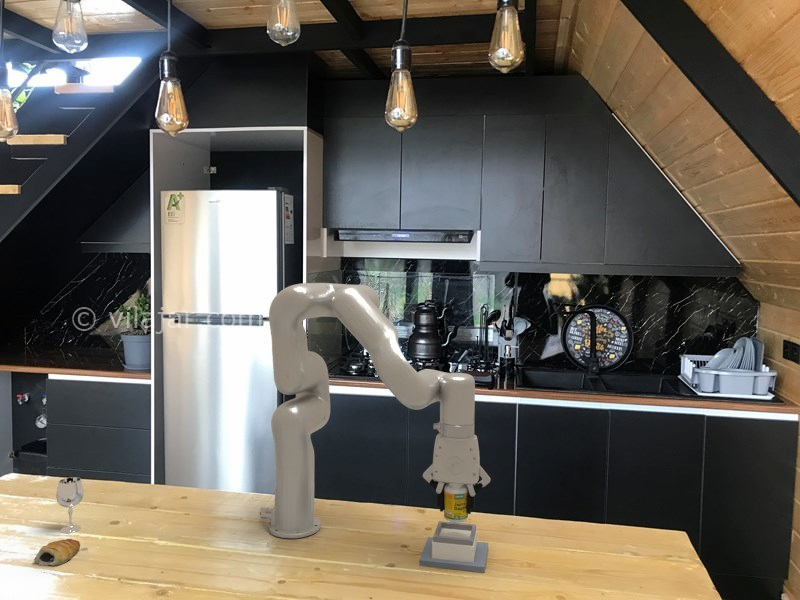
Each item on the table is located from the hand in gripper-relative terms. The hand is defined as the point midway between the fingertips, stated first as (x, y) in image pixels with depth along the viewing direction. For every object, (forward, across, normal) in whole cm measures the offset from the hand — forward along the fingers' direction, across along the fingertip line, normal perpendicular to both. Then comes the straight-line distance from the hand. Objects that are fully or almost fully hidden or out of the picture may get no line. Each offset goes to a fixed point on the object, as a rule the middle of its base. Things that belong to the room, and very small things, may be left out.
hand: (455, 509), depth 139 cm
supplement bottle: (+2, 0, 0) cm, 2 cm away
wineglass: (+10, -92, -7) cm, 93 cm away
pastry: (+11, -84, -20) cm, 88 cm away
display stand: (+11, 0, 0) cm, 11 cm away
